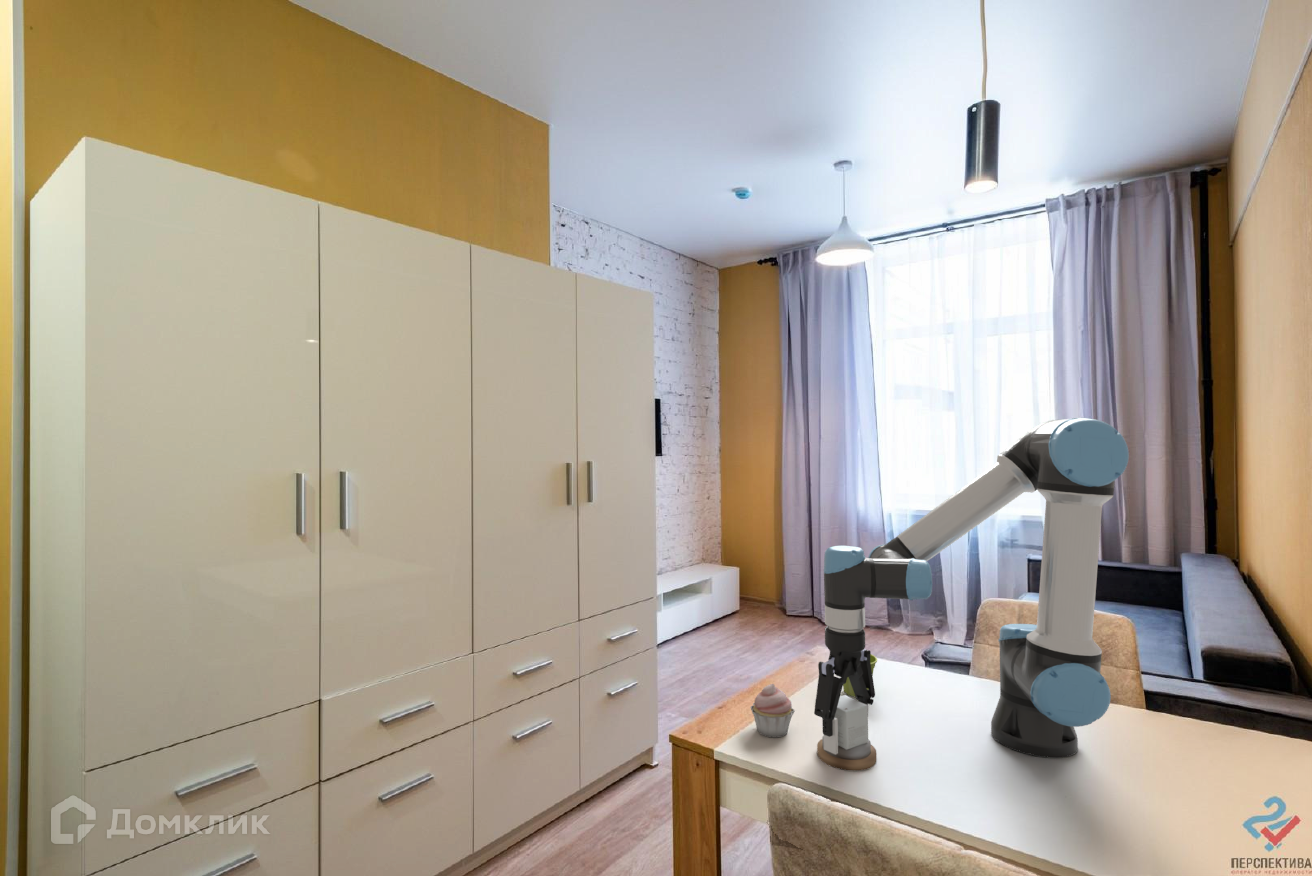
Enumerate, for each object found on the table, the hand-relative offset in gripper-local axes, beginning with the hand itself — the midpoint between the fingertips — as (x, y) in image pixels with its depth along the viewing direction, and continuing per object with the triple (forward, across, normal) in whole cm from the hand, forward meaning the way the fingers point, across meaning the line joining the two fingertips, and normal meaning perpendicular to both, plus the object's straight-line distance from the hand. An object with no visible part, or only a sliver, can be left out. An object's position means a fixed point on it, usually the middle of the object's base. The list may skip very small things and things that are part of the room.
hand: (846, 743), depth 126 cm
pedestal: (+2, 0, 0) cm, 2 cm away
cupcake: (+3, +3, -16) cm, 17 cm away
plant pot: (+3, -28, -17) cm, 33 cm away
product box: (0, 0, 0) cm, 0 cm away
